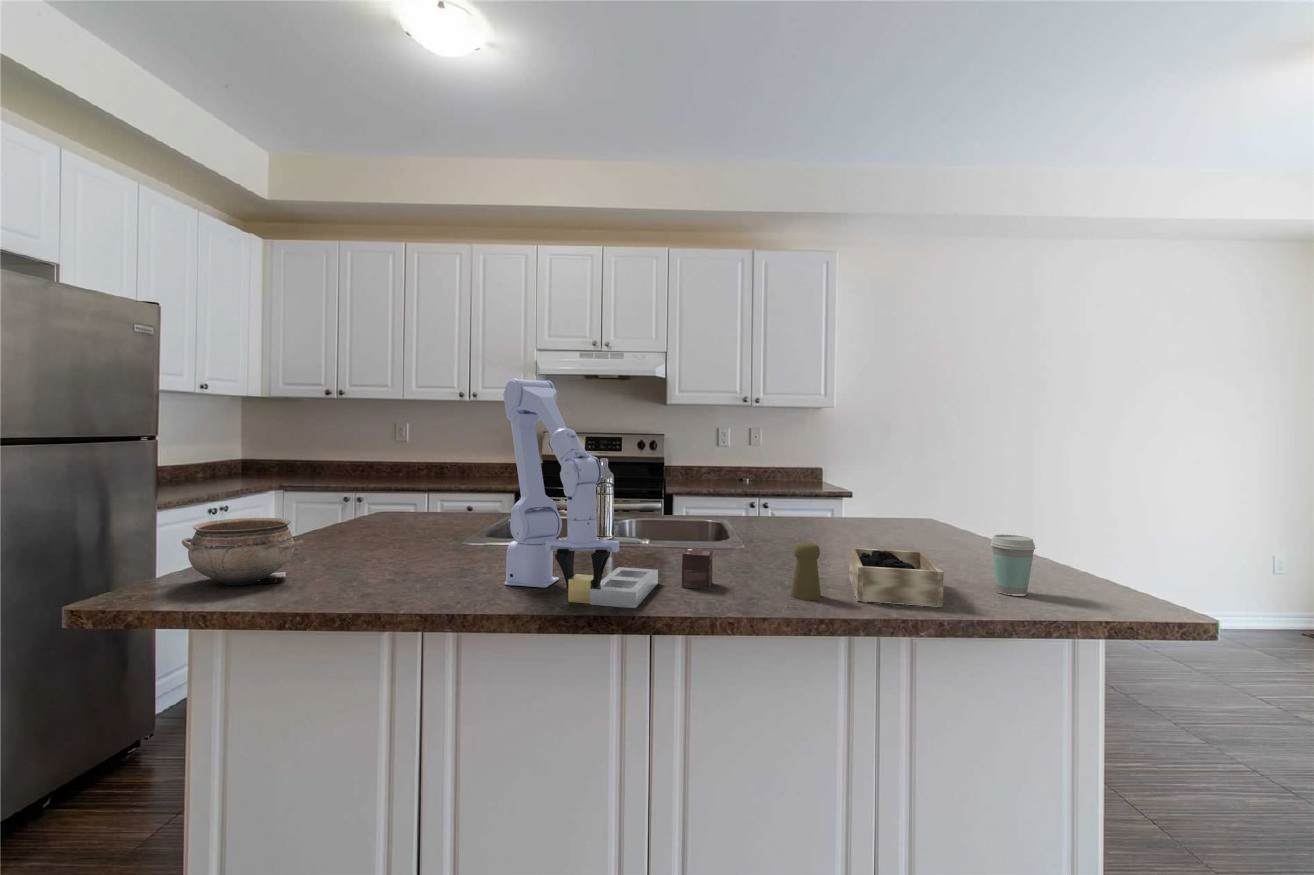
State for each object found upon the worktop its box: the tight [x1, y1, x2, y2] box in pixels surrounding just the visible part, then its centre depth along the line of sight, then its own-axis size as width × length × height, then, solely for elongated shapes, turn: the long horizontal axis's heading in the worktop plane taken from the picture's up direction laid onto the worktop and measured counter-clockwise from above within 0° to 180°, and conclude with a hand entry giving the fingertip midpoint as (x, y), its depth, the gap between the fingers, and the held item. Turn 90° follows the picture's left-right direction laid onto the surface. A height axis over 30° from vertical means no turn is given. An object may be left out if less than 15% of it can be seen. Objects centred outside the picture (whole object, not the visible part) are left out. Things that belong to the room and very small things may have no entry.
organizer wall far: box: [854, 547, 921, 570], centre depth 150 cm, size 14×1×7 cm, turn 78°
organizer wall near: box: [862, 566, 938, 606], centre depth 131 cm, size 14×1×7 cm, turn 78°
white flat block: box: [589, 566, 659, 609], centre depth 135 cm, size 9×20×3 cm, turn 168°
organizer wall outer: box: [919, 551, 945, 607], centre depth 139 cm, size 1×21×7 cm, turn 168°
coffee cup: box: [990, 534, 1037, 594], centre depth 141 cm, size 8×8×12 cm
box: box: [681, 548, 713, 590], centre depth 143 cm, size 6×6×7 cm
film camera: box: [859, 551, 915, 569], centre depth 140 cm, size 15×10×9 cm, turn 20°
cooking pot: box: [181, 517, 304, 586], centre depth 139 cm, size 25×19×12 cm
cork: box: [790, 541, 822, 601], centre depth 136 cm, size 6×6×11 cm
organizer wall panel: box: [848, 547, 863, 602], centre depth 142 cm, size 1×21×7 cm, turn 168°
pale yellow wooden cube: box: [567, 573, 593, 605], centre depth 130 cm, size 4×4×4 cm
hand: (583, 588), depth 130 cm, fingers open, 5 cm apart
